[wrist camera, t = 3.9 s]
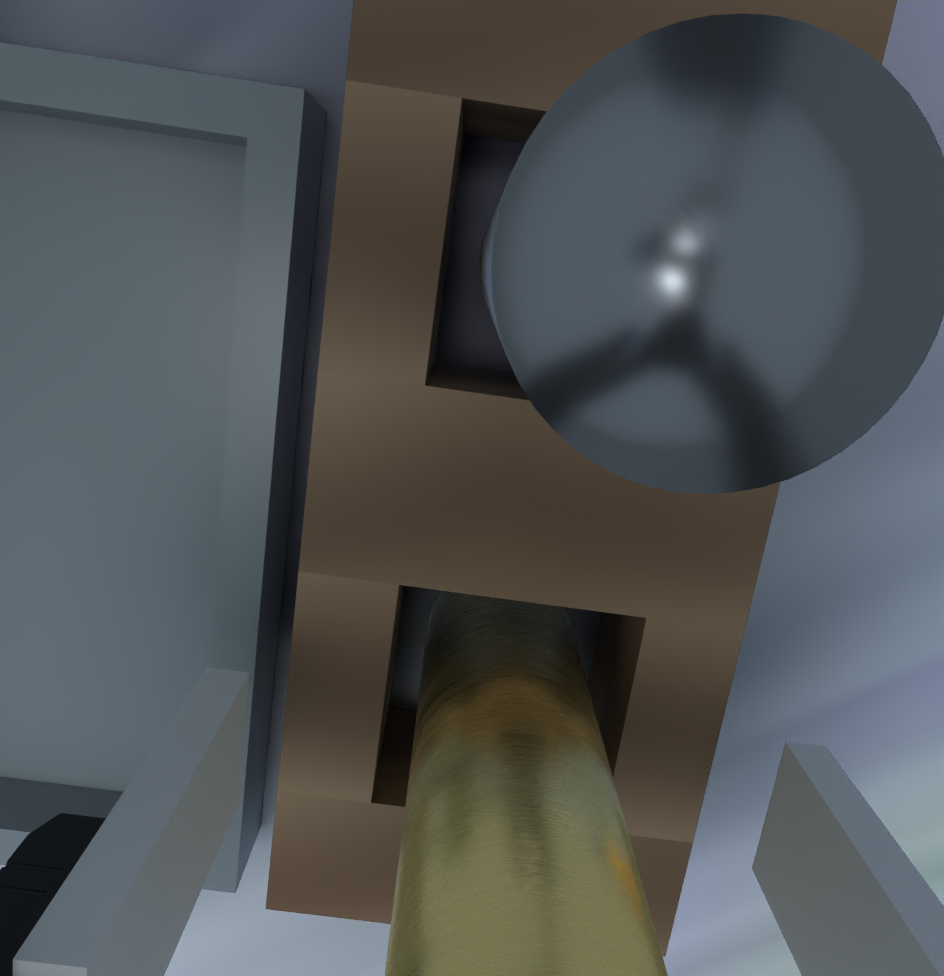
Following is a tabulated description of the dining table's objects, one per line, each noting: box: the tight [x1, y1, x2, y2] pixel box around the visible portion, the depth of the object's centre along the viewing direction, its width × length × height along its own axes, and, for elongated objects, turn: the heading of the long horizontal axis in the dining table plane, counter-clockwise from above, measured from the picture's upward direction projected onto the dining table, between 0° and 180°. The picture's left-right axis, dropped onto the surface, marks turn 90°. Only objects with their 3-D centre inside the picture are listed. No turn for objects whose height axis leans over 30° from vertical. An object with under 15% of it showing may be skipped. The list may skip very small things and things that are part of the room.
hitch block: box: [266, 0, 897, 956], centre depth 18 cm, size 20×9×4 cm, turn 172°
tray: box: [0, 42, 327, 893], centre depth 19 cm, size 18×9×2 cm, turn 172°
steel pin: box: [478, 13, 944, 494], centre depth 13 cm, size 4×4×13 cm
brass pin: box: [385, 591, 668, 976], centre depth 15 cm, size 4×4×13 cm
